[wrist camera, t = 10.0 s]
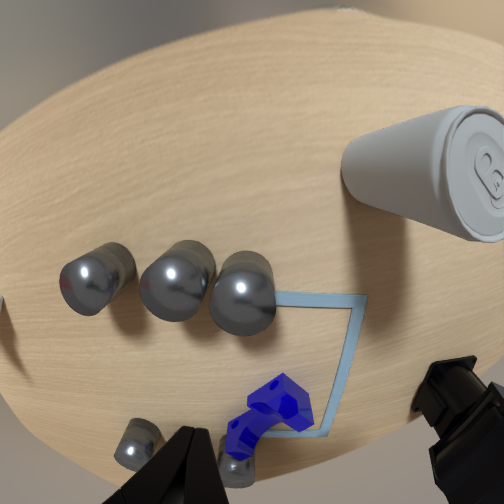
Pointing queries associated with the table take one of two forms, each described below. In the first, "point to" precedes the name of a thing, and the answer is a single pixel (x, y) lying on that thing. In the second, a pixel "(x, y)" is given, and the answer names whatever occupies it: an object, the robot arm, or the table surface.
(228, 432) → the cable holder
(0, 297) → the ink cartridge box
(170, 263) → the spacers
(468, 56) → the table surface
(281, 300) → the taped bay
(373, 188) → the beverage can
